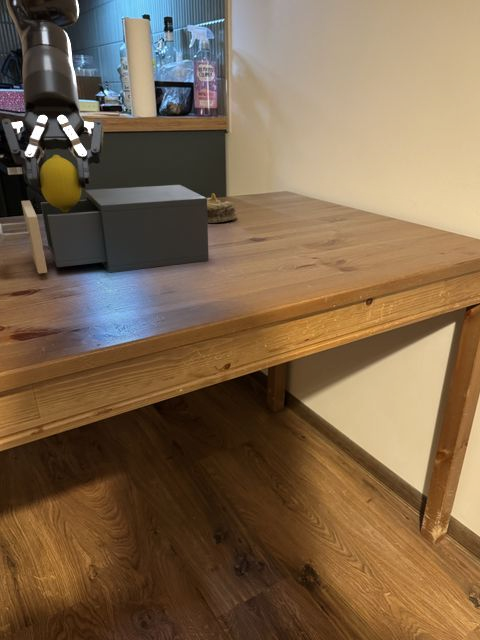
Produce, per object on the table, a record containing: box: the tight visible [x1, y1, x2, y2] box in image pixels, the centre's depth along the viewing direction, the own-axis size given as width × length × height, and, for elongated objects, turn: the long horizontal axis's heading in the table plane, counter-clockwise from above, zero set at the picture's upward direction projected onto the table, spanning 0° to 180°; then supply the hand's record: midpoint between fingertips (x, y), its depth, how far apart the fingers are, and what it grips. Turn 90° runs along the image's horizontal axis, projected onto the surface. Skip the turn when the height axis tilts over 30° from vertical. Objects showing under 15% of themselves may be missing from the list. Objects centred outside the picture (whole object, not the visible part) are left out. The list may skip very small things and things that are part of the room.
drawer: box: [0, 199, 107, 274], centre depth 74 cm, size 19×12×8 cm, turn 117°
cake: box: [206, 192, 238, 224], centre depth 105 cm, size 10×10×5 cm
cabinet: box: [84, 184, 210, 274], centre depth 80 cm, size 16×13×10 cm
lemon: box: [39, 154, 83, 213], centre depth 72 cm, size 6×6×8 cm
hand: (60, 184), depth 70 cm, fingers closed on lemon, 5 cm apart
